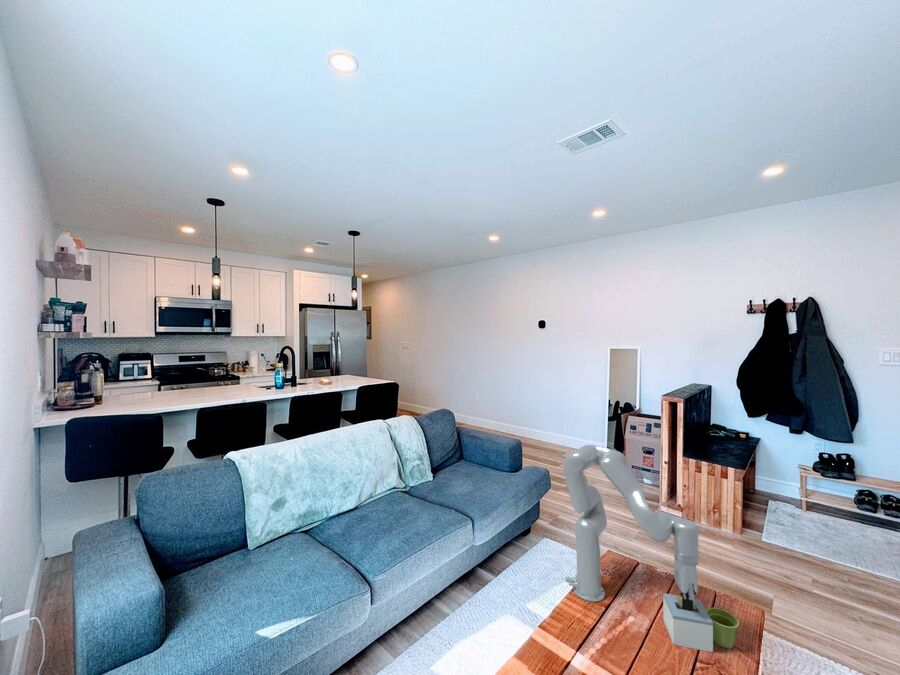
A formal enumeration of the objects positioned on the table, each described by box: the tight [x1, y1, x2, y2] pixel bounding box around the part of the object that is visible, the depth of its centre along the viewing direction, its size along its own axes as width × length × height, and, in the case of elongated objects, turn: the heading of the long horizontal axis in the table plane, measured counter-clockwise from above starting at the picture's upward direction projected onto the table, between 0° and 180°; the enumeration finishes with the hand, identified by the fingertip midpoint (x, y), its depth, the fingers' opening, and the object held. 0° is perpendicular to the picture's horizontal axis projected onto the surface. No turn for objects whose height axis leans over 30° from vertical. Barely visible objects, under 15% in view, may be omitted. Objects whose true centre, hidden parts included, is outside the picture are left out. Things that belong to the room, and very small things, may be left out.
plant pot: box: [705, 607, 740, 649], centre depth 130 cm, size 9×9×9 cm
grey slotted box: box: [662, 593, 714, 653], centre depth 132 cm, size 12×12×10 cm
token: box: [676, 595, 697, 612], centre depth 133 cm, size 5×2×5 cm, turn 75°
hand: (686, 606), depth 133 cm, fingers closed on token, 1 cm apart
